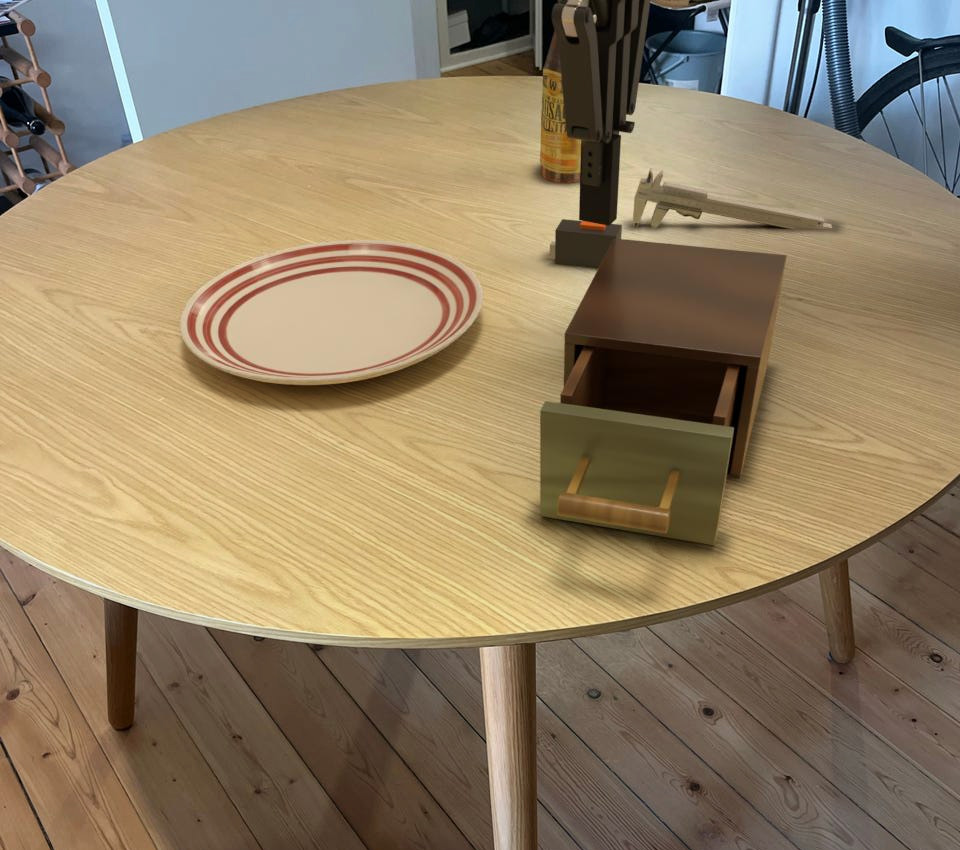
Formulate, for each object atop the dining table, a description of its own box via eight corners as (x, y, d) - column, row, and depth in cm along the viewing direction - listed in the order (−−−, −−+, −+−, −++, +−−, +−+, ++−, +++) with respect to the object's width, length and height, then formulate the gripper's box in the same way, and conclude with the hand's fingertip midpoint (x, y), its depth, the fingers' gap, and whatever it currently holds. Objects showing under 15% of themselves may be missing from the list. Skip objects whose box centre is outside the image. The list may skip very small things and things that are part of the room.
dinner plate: (165, 298, 101) (156, 266, 98) (427, 244, 107) (425, 212, 104) (218, 446, 82) (208, 410, 80) (530, 370, 88) (530, 335, 86)
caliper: (632, 233, 107) (636, 171, 102) (632, 229, 107) (636, 167, 103) (833, 234, 104) (846, 171, 100) (832, 230, 105) (845, 167, 100)
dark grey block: (619, 264, 102) (622, 220, 99) (614, 276, 100) (616, 231, 97) (553, 257, 103) (554, 214, 100) (547, 268, 102) (547, 225, 99)
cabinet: (739, 484, 76) (761, 357, 68) (562, 457, 79) (564, 333, 72) (765, 376, 86) (786, 254, 79) (607, 356, 90) (613, 237, 82)
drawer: (700, 601, 66) (717, 492, 60) (517, 567, 69) (514, 460, 63) (743, 428, 79) (761, 324, 73) (588, 407, 82) (592, 305, 76)
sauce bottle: (529, 179, 117) (527, -21, 103) (565, 163, 120) (568, -34, 106) (571, 194, 114) (576, -11, 100) (607, 177, 117) (617, -25, 103)
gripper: (623, -117, 62) (606, 260, 78) (702, -154, 69) (671, 197, 86) (514, -123, 64) (519, 243, 81) (602, -158, 72) (590, 182, 89)
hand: (597, 219), depth 84 cm, fingers closed
